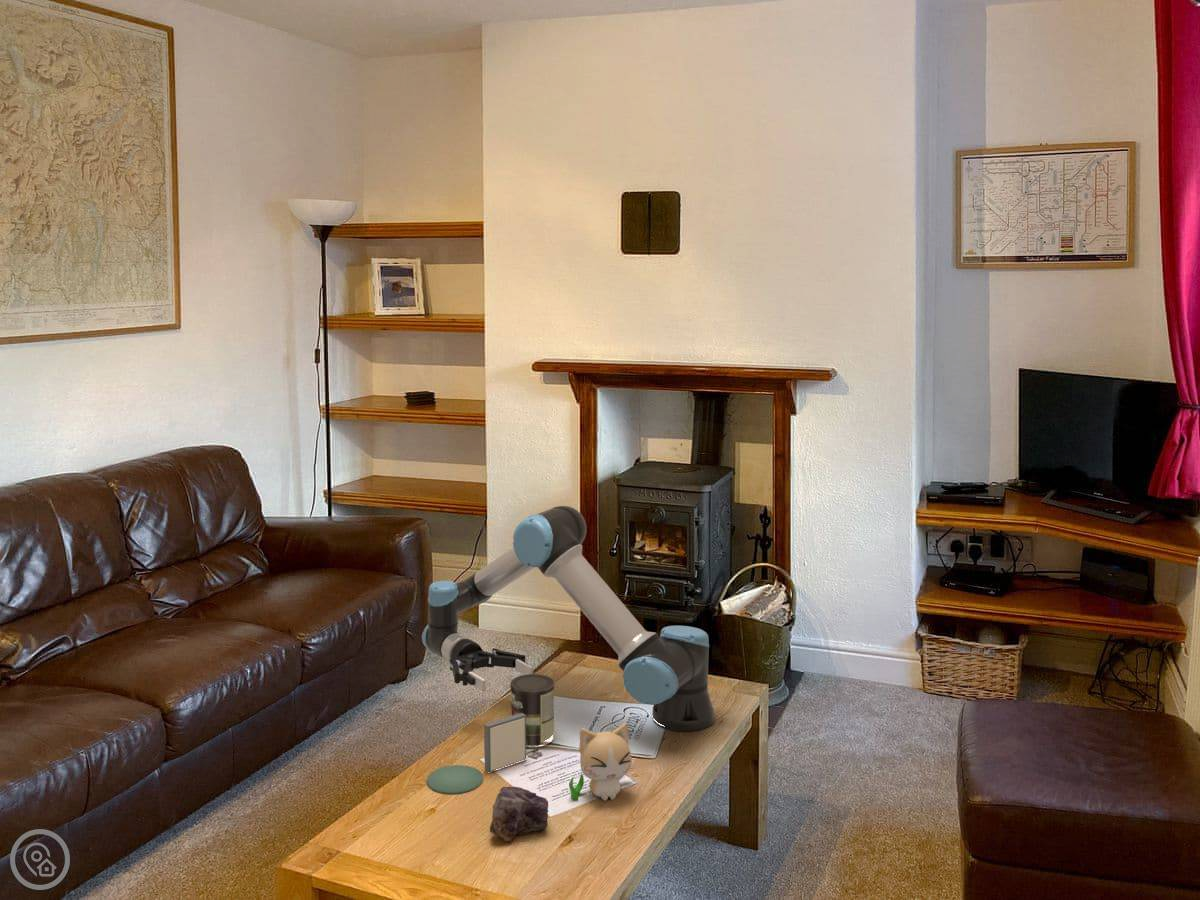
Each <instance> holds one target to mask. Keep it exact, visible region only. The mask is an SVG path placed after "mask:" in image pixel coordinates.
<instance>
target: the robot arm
mask: <svg viewBox="0 0 1200 900" xmlns="http://www.w3.org/2000/svg"><path fill="white" fill-rule="evenodd" d="M587 528H588V527H587V523H586V520H585V518H584V516H583V515H582V513H581V512H580V511H579V510H578V509H576V508H574V507H571V506H567V505H557V506H555V507H552V508H549V509H547V510H544V511H541V512H539V513H535V514H531V515H529V516H528V517H527V518H525V519H522V521H520V522H519V523H518V525H517V526H516V527H515V530H514V532H513V535H512V536H513V537H512V538H513V542H512V546H513V547H511V548H510V549H509V550H507V551H506V552H504V553H503V554H501V555H500V556H499V557H497V558H496V559H494V560H493V561H491V562H489V563H488V564H487V565H485V566H484V567H482V568H481V569H479V570H478V571H476V572H475V573H473V574H472V575H470V576H469V577H468V578H465V579H464V580H462V581H459V582H457V583H455V582H454V581H453V580H439V581H438V580H437V581H433V582H432V583H431V584H430V585H429V587H428V597H427V603H428V605H427V607H428V624H427V625H426V626H425V628H424V629H423V632H422V635H421V641H422V644H423V645H424V646H425V648H426V649H428V651H430V652H431V653H433V654H434V655H437V656H439V657H441V658H443V659H444V660H445V661H448V662H449V670H450V671H451V672H452V675H453V680H454V684H456V685H457V684H460V683H461V682H462V686H465V687H466V686H468V685H470V686H473V687H475V688H476V689H477V690H480V691H481V692H486V688H487V687H486V684H487V682H486V679H484V678H482V677H481V676H479V675H478V674H476V673H474V672H473V671H474V670H475V669H476V670H477V669H480V668H490V669H491V668H494V667H502V668H503V667H504V668H512V669H515V671H517V672H518V673H520V674H521V675H528V674H534V667H533V666H532V665H530V664H529V663H527V662H526V654H525V655H524V654H520V653H516V652H515V653H514V652H510V651H504V650H502V649H498V648H492V650H491V652H488V651H484V650H483V649H482V647H481V645H480V644H478V643H477V642H475V641H474V640H472V639H470V638H468V637H466V636H465V635H463V634H461V633H460V632H459V631H458V624H459V622H458V621H459V620H458V617H459V616H458V614H461V613H463V612H465V611H467V610H469V609H471V608H473V607H476V606H478V605H481V604H483V603H485V602H487V601H488V600H490V599H491V598H492V597H493V595H495V594H496V593H498V592H499V591H501V590H502V589H504V588H506V587H507V586H509V585H510V584H512V583H513V582H515V581H516V580H518V579H519V578H521V577H523V576H524V575H526V574H527V573H528V572H530V571H532V570H534V569H535V568H538V570H539V571H540V572H541V573H542V575H543V576H544V577H546V578H552V579H555V580H556V581H557V583H558V584H559V586H560V587H561V588H562V589H563V590H564V591H565V593H566V594H567V595H568V596H569V597H570V599H571V600H572V601H573V603H574V604H576V606H577V607H578V608H579V610H580V611H581V612H582V613H583V615H585V617H586V618H587V619H588V621H589V622H590V623H591V624H592V625H593V626H594V627H595V629H596V630H597V631H598V633H600V635H601V636H602V637H603V638H604V640H606V642H607V643H608V644H609V646H610V647H611V648H612V649H613V651H614V652H615V653H616V654H617V656H618V660H617V661H618V662H617V665H618V667H619V668H620V669H621V670H622V672H623V674H622V678H623V685H624V688H625V690H626V691H627V693H628V694H629V696H631V697H632V698H633V699H635V700H636V701H638V702H640V703H641V704H644V705H652V711H651V713H652V715H653V718H654V719H655V720H656V721H657V722H658V723H660V724H662V725H664V726H665V728H664V729H666V730H670V731H676V732H696V731H701V730H704V729H706V728H708V727H710V726H712V725H713V723H714V722H715V710H714V707H713V704H712V700H711V696H710V693H709V689H708V686H709V683H708V681H709V656H710V655H709V653H710V652H709V650H710V643H709V642H710V641H709V640H710V639H709V634H708V633H707V632H706V631H704V630H703V629H701V628H698V627H694V626H689V625H668V626H664V627H663V628H662V629H661V631H660V634H659V635H658V633H657V632H656V631H655V632H653V631H648V630H646V629H645V628H644V627H643V626H642V624H641V623H640V622H639V621H638V620H637V618H636V617H635V616H634V615H633V614H632V613H631V611H630V610H629V609H628V608H627V607H626V605H625V604H624V603H623V601H621V599H620V598H619V597H618V596H617V595H616V593H615V592H614V591H613V590H612V589H611V587H610V586H609V585H608V584H607V583H606V582H605V581H604V579H603V578H602V577H601V576H600V574H599V573H598V572H597V571H596V569H594V567H593V566H592V565H591V564H590V563H589V562H588V560H587V559H586V558H585V557H584V555H583V545H582V544H583V542H584V540H585V539H586V535H587V532H588V531H587ZM460 670H462V673H461V672H460ZM652 715H651V716H652ZM653 718H652V719H653Z"/></svg>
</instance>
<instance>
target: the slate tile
mask: <svg viewBox="0 0 1200 900" xmlns="http://www.w3.org/2000/svg"><path fill="white" fill-rule="evenodd" d="M483 728H484V729H483V734H484V735H483V738H484V739H483V740H484V746H483V747H484V748H483V749H484V772H486V771H487V772H491V771H494V770H496V769H499V768H502V767H505V766H508V765H511V764H514V763H516V762H519V761H522V760H525V759H526V760H527V748H526V715H525V714H523V713H519V714H516V715H513V716H511V715H510V716H506V717H504V718H500V719H496V720H494V721H493V720H492V721H490V722H487V723H484V725H483ZM487 772H486V773H487ZM494 772H495V771H494ZM491 773H492V772H491Z"/></svg>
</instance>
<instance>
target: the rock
mask: <svg viewBox="0 0 1200 900" xmlns="http://www.w3.org/2000/svg"><path fill="white" fill-rule="evenodd" d="M548 813H549V801H548V799H547V798H546V797H544V796H543V797H542V796H540V795H537V793H536V792H531V791H530V790H528V789H525V788H522V787H520V786H502V787H501V788H500V790H499V792H498V794H497V795H496V798H495V802H494V804H493V805H492V820H491V823H490V826H489V832H490V833H492V834H493V835H495V836H497V837H499V838H501V839H503V840H504V841H505V842H512V841H513V840H514V838H515V837H516V836H517V835H520V836H522V835H528V834H530V833H531V832H537V831H540V830H547V828H548V826H549V823H548V820H549V814H548Z"/></svg>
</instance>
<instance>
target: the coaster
mask: <svg viewBox="0 0 1200 900" xmlns="http://www.w3.org/2000/svg"><path fill="white" fill-rule="evenodd" d="M483 778H484V776H483V773H482V772H481V771H480V770H479V769H477V768H476V767H474V766H468V765H462V764H456V765H453V764H452V765H447V766H442V767H439V768H437V769H435V770H433V771H431V772H430V773H429V774H428V775H427V778H426V784H427V787H429V789H430V790H432V791H433V792H436V793H439V794H446V795H459V794H460V795H461V794H465V792H466V793H469V792H471V790H472V791H474V790H475V788H476V789H477V788H479V787H480V786H481V785H482V784H483V780H484V779H483ZM480 784H481V785H480ZM479 785H480V786H479ZM478 786H479V787H478ZM468 791H469V792H468Z"/></svg>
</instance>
